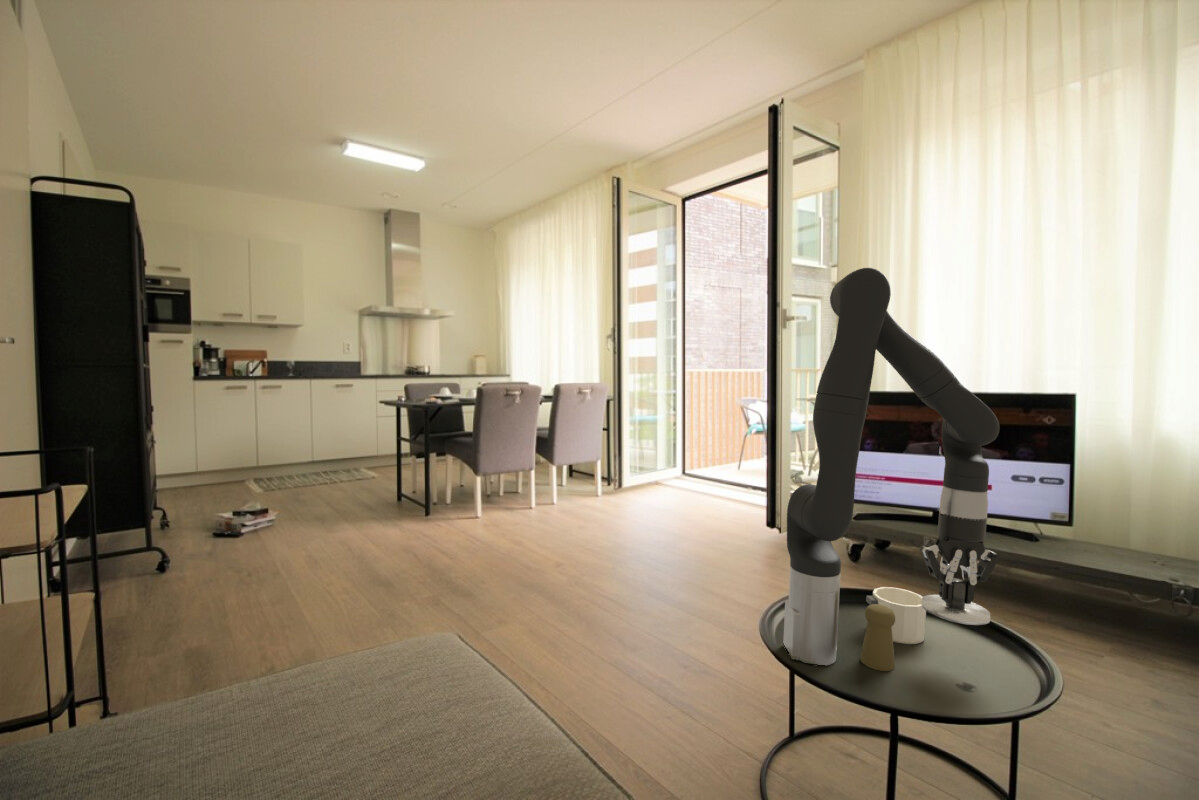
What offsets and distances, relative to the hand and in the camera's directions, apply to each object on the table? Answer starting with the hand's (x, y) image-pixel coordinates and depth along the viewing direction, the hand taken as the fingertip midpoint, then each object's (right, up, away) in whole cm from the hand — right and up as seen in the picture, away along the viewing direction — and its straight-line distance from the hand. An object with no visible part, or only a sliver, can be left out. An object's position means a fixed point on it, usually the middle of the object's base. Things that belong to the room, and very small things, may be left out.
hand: (955, 601), depth 105 cm
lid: (0, -2, 0) cm, 2 cm away
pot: (-3, -12, +14) cm, 19 cm away
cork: (-14, -13, +2) cm, 19 cm away
